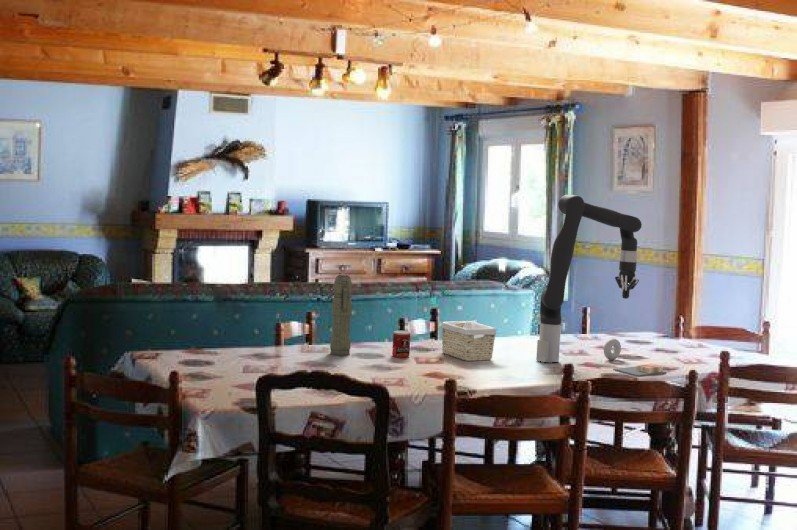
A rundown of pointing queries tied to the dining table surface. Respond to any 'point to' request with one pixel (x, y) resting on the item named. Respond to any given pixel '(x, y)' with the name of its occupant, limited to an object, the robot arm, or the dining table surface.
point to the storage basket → (468, 340)
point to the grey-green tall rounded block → (341, 316)
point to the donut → (616, 350)
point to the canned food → (401, 344)
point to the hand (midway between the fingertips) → (625, 298)
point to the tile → (649, 368)
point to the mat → (633, 371)
